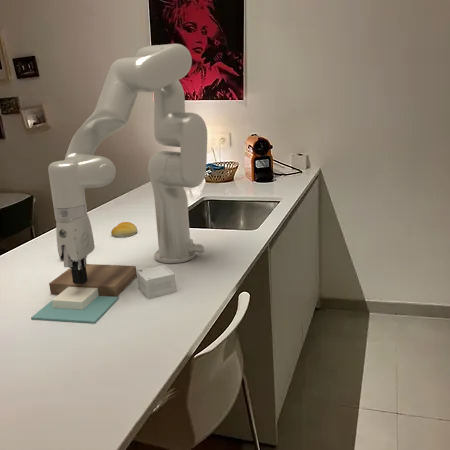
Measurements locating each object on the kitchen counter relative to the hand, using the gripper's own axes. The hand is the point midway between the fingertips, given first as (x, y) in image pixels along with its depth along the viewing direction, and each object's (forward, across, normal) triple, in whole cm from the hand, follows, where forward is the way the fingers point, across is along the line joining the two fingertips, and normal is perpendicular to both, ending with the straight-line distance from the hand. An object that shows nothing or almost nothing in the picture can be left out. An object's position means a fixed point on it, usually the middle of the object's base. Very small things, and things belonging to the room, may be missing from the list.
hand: (80, 282), depth 129 cm
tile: (+3, -4, -1) cm, 5 cm away
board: (+4, +7, 0) cm, 8 cm away
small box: (+4, +6, -18) cm, 19 cm away
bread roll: (+4, +50, +10) cm, 52 cm away
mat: (+4, -7, -2) cm, 8 cm away
